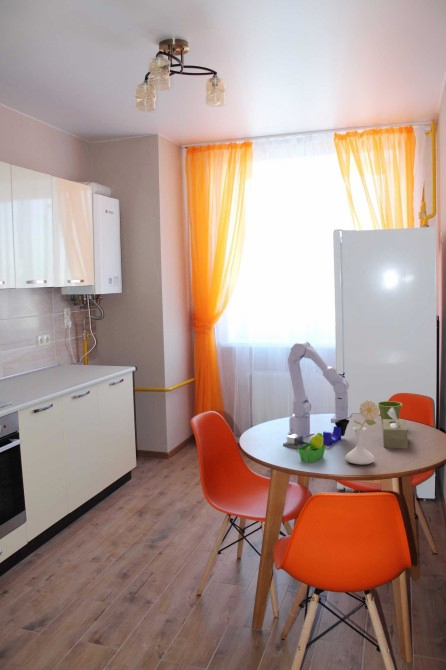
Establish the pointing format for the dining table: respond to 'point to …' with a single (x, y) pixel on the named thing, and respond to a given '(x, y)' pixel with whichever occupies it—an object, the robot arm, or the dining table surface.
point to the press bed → (297, 446)
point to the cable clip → (332, 436)
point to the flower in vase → (359, 452)
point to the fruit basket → (313, 449)
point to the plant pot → (385, 407)
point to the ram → (295, 439)
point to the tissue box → (394, 431)
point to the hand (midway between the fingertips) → (341, 435)
